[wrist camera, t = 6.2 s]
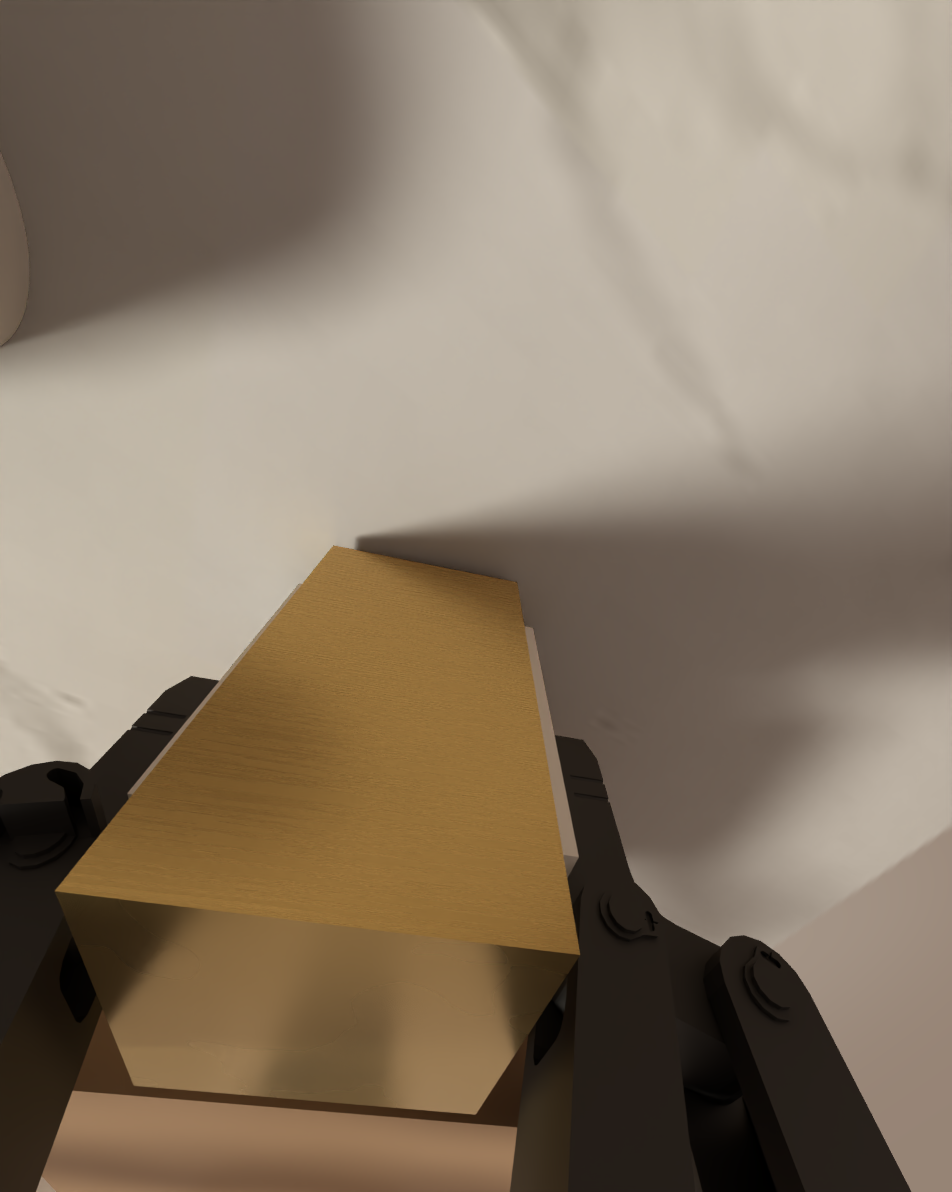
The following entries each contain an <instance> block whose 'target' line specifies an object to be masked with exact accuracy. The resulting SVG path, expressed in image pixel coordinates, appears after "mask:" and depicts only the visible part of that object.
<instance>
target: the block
mask: <svg viewBox="0 0 952 1192" xmlns="http://www.w3.org/2000/svg"><path fill="white" fill-rule="evenodd" d="M527 1041H528V1035H527V1037H526V1039H525V1040H524V1042H523V1043H522V1045H521V1046H520V1048H519V1049H518V1051H517V1052H516V1054H515V1055H514V1057H513V1058H512V1060H511V1061H510V1063H509V1064H508V1066H507V1068H506V1069H505V1071H504V1072H503V1074H502V1075H501V1077H500V1078H499V1080H498V1081H497V1083H496V1084H495V1086H494V1087H493V1089H492V1090H491V1092H490V1094H489V1095H488V1097H487V1098H486V1100H485V1101H484V1103H483V1104H482V1106H481V1107H480V1109H479V1110H478V1112H477V1113H476V1115H475V1114H463V1113H451V1112H439V1111H427V1110H415V1109H404V1108H392V1107H380V1106H368V1105H356V1104H344V1103H333V1102H321V1101H309V1100H297V1099H285V1098H273V1097H262V1096H250V1095H238V1094H226V1093H214V1092H202V1091H190V1090H179V1089H167V1088H155V1087H143V1086H134V1085H133V1083H132V1080H131V1078H130V1075H129V1073H128V1070H127V1068H126V1065H125V1063H124V1060H123V1058H122V1056H121V1053H120V1051H119V1048H118V1046H117V1043H116V1041H115V1038H114V1036H113V1033H112V1031H111V1028H110V1026H109V1024H108V1021H107V1019H106V1016H105V1014H104V1011H103V1009H102V1012H101V1014H100V1017H99V1020H98V1023H97V1025H96V1028H95V1031H94V1034H93V1036H92V1039H91V1042H90V1045H89V1047H88V1050H87V1053H86V1056H85V1058H84V1061H83V1064H82V1067H81V1069H80V1072H79V1075H78V1078H77V1080H76V1083H75V1086H74V1089H73V1091H72V1094H71V1097H70V1100H69V1102H68V1105H67V1108H66V1111H65V1113H64V1116H63V1119H62V1122H61V1124H60V1127H59V1130H58V1132H57V1135H56V1138H55V1141H54V1143H53V1146H52V1149H51V1152H50V1154H49V1157H48V1160H47V1163H46V1165H45V1168H44V1171H43V1174H42V1177H43V1178H44V1179H45V1180H46V1181H47V1182H48V1183H49V1185H50V1186H51V1187H52V1188H53V1189H54V1190H55V1191H56V1192H510V1186H511V1177H512V1169H513V1160H514V1152H515V1143H516V1135H517V1126H518V1118H519V1109H520V1101H521V1092H522V1083H523V1075H524V1066H525V1058H526V1049H527Z"/></svg>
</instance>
